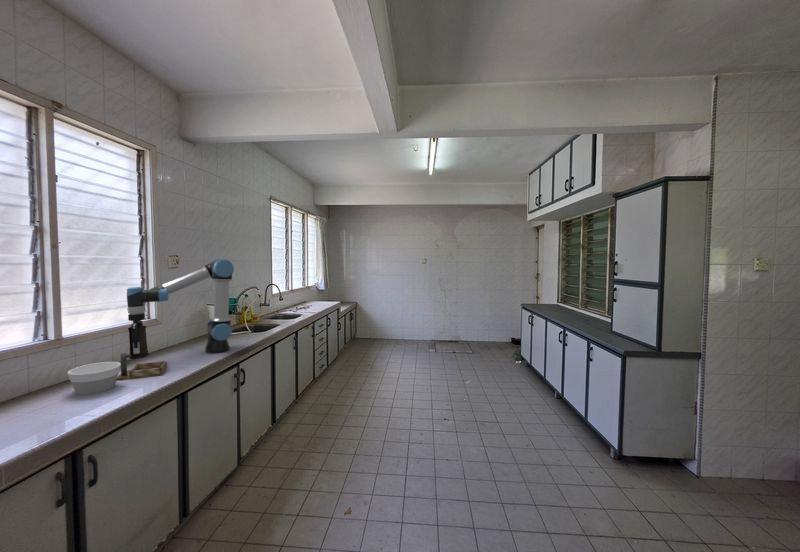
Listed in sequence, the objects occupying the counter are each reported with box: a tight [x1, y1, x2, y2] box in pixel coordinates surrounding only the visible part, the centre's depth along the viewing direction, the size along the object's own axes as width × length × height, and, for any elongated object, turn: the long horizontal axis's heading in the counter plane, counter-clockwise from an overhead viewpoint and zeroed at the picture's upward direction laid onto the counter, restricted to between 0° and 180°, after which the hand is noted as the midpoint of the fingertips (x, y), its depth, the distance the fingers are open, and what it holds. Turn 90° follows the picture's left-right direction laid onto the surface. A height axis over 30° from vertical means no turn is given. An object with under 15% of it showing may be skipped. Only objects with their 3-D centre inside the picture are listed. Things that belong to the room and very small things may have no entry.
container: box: [127, 325, 150, 360], centre depth 190 cm, size 9×9×18 cm
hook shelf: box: [116, 352, 168, 382], centre depth 180 cm, size 20×14×13 cm
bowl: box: [67, 361, 121, 396], centre depth 159 cm, size 19×19×11 cm
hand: (138, 351), depth 190 cm, fingers closed on container, 8 cm apart
